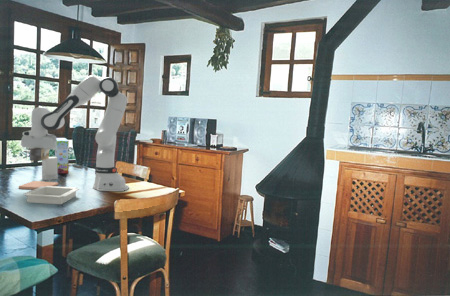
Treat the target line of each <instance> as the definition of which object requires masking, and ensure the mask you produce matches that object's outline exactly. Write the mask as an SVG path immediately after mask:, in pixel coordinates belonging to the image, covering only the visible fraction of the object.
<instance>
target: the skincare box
mask: <svg viewBox="0 0 450 296" xmlns="http://www.w3.org/2000/svg"><path fill="white" fill-rule="evenodd" d="M57 164H58V158H57V157H55V156H49V159H45V160H41V179H42V180H43V181H44V182H47V181H53V180H58V174H57Z"/></svg>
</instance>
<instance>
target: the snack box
mask: <svg viewBox="0 0 450 296" xmlns="http://www.w3.org/2000/svg"><path fill="white" fill-rule="evenodd" d="M56 143H57V148H56V149H54V157H57V158H58V164H57V175H58V174H69V143H70V142H69V140H68V139H67V138H66V137H56Z"/></svg>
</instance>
